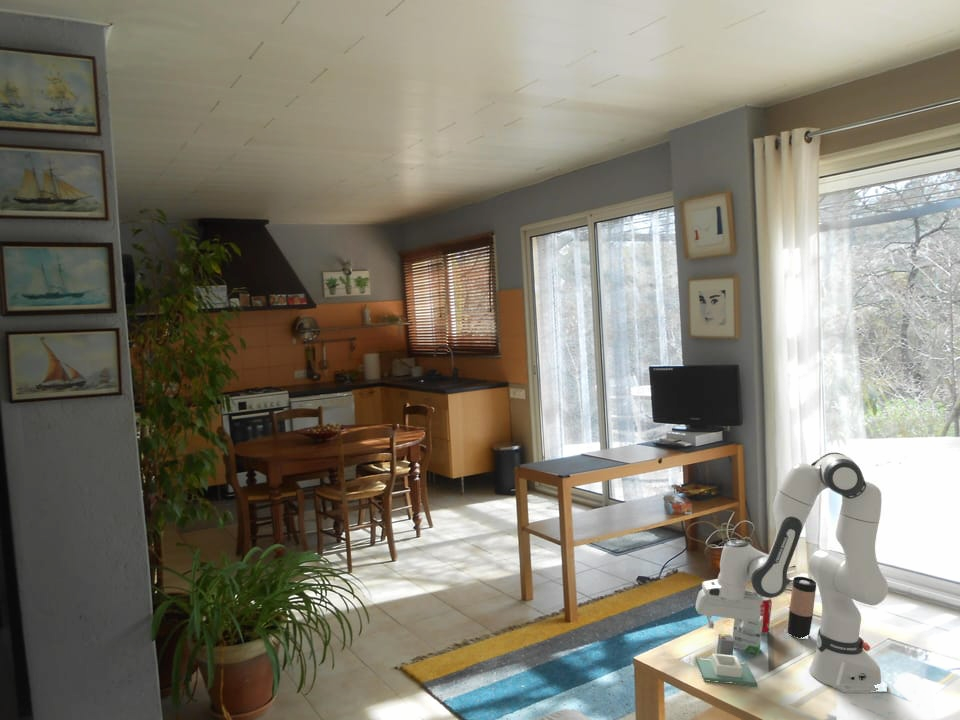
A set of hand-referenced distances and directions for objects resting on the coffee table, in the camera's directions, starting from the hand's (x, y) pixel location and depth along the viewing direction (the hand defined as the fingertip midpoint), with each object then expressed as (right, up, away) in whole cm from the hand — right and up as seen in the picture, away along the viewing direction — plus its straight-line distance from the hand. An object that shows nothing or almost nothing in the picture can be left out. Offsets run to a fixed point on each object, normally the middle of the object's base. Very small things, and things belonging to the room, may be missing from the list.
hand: (725, 629), depth 243 cm
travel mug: (+33, -9, +20) cm, 40 cm away
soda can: (+19, -8, +22) cm, 30 cm away
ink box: (+10, -10, +8) cm, 16 cm away
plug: (0, -10, +1) cm, 10 cm away
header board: (-3, -11, -9) cm, 14 cm away
